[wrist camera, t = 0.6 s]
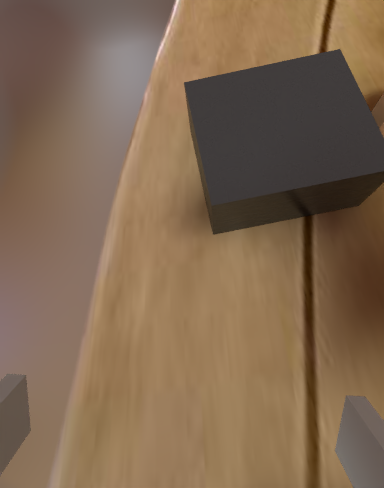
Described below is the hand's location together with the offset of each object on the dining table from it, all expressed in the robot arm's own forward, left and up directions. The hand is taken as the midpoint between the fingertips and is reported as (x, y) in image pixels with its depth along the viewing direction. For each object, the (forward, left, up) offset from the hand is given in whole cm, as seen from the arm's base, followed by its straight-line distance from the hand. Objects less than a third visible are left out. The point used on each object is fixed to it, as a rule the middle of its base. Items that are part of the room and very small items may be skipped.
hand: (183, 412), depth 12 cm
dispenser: (+23, -13, -19) cm, 32 cm away
